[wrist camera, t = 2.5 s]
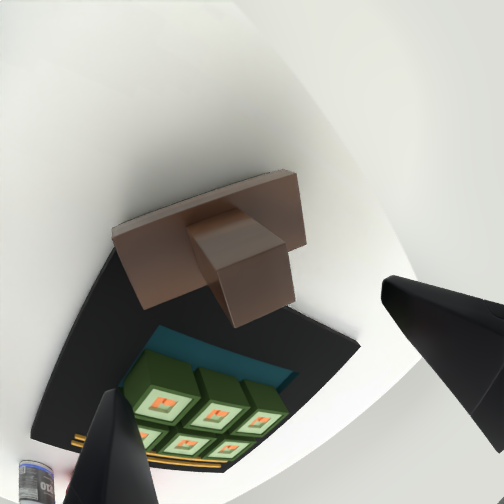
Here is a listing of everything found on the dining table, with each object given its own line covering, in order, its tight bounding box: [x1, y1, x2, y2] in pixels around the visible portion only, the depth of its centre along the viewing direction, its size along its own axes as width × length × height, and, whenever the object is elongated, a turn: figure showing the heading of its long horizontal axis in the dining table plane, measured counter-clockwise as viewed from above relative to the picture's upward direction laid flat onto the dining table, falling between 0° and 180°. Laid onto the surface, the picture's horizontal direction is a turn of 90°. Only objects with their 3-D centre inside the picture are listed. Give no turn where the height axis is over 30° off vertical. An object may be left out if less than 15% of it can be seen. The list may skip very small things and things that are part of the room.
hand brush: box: [112, 169, 307, 328], centre depth 15 cm, size 4×10×8 cm, turn 101°
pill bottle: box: [19, 461, 55, 504], centre depth 20 cm, size 5×5×8 cm
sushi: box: [30, 246, 361, 473], centre depth 24 cm, size 25×25×4 cm
